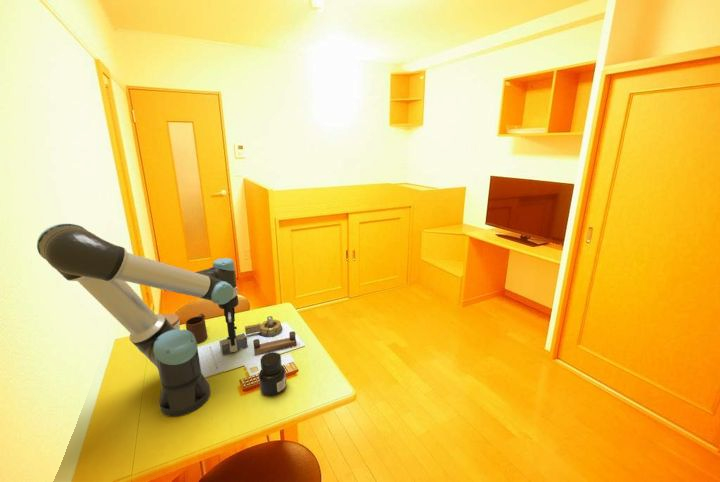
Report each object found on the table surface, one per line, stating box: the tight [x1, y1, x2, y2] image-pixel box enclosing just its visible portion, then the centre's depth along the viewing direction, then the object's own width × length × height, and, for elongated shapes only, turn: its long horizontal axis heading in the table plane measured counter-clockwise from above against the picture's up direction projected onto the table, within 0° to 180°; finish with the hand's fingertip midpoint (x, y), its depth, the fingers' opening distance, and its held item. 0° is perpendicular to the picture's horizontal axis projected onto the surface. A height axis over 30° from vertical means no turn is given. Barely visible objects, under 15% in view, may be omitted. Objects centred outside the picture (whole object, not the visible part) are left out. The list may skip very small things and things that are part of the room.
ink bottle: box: [258, 351, 287, 397], centre depth 112 cm, size 10×9×12 cm
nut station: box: [259, 315, 283, 338], centre depth 148 cm, size 10×10×7 cm
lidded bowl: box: [162, 313, 181, 329], centre depth 142 cm, size 13×13×11 cm
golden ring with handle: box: [244, 319, 282, 336], centre depth 147 cm, size 9×16×3 cm, turn 112°
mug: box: [185, 313, 208, 344], centre depth 144 cm, size 12×8×9 cm, turn 3°
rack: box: [252, 330, 297, 356], centre depth 135 cm, size 4×17×6 cm, turn 112°
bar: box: [219, 333, 248, 356], centre depth 135 cm, size 10×4×4 cm, turn 125°
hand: (233, 347), depth 136 cm, fingers closed on bar, 5 cm apart
